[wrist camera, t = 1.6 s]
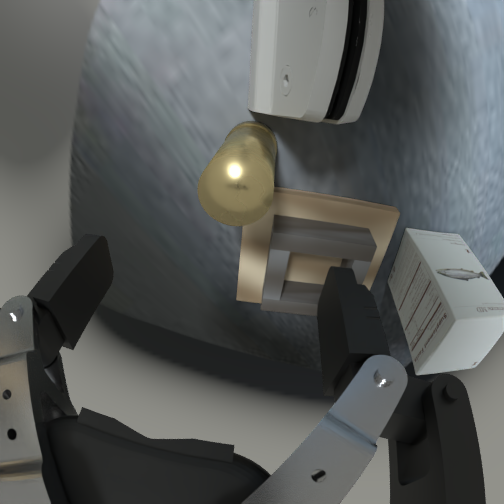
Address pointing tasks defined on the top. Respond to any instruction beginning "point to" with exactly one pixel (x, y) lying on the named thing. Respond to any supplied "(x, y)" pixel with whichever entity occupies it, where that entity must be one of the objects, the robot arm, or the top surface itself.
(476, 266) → the supplement box
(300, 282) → the socket board
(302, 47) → the white black curved block
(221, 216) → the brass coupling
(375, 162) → the top surface
